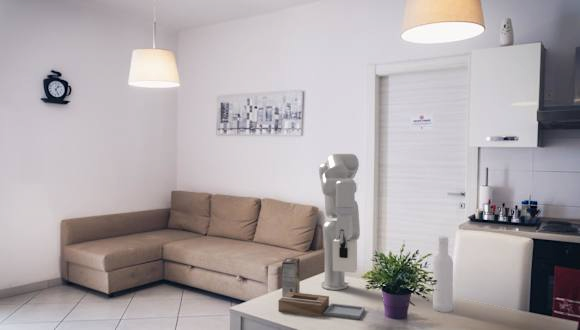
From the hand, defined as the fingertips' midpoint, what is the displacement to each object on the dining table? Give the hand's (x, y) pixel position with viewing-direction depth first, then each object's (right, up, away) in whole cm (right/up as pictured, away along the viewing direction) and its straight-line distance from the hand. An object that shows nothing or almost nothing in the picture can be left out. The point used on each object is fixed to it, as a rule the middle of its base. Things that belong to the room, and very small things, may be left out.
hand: (344, 255), depth 192 cm
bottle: (+41, -23, +5) cm, 47 cm away
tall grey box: (-22, -23, +23) cm, 39 cm away
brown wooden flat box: (-16, -23, +6) cm, 29 cm away
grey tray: (0, -23, +1) cm, 23 cm away
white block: (0, -6, 0) cm, 6 cm away
